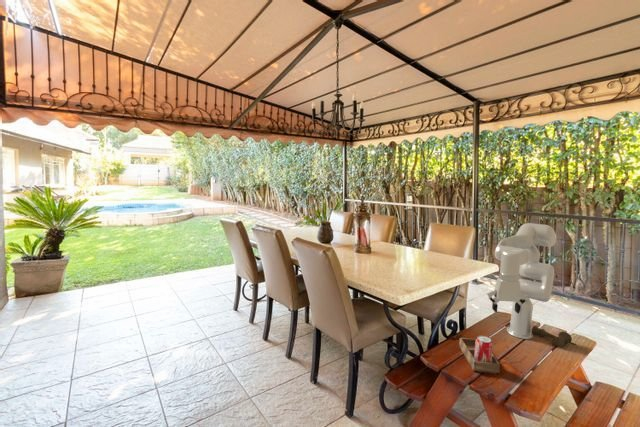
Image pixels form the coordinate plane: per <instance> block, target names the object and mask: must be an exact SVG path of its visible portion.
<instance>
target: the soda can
mask: <svg viewBox="0 0 640 427" xmlns="http://www.w3.org/2000/svg"><path fill="white" fill-rule="evenodd" d="M475 339H476V342H475V353H474V359H475V361H477V362H488V363H491V357H492V354H493V342H492V339H491V338H490V337H489V336H487V335H478V336H477V338H475Z"/></svg>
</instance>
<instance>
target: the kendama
mask: <svg viewBox="0 0 640 427" xmlns="http://www.w3.org/2000/svg"><path fill="white" fill-rule="evenodd" d="M531 333H532V334H533V335H538V336H540V337H541V338H543V337H546V338H549V339H550V338H551V339H552V344H553V345H554V346H555V347H557V348H560V349H563V348H565V346H566V344H570V345H573V346H577V344H576V343H574V342H573V339H572V336H571V334H569V333H568V332H566V331H560V332H558V336H556V335H554V334H552V333H549V332H548V331H547V330H545V329H544V328H540V327H538V326H537V325H533V326H532V329H531Z"/></svg>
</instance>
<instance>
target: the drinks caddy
mask: <svg viewBox="0 0 640 427" xmlns="http://www.w3.org/2000/svg"><path fill="white" fill-rule="evenodd" d="M476 339H477V338H467V337H459V338H458V341H459V342H458V346H459V348H460V350H461V352H462V354H463V355H464V357H465V359H466V361H467V362H468V364H469V366H470V367H471V369H472V371H473V372H474V371H478V372H477V373H487V374H496V373H499V374H500V373H501V364H500V362H499V360H497V358H496V356H495V355H494V354H493V353H492V357H491V363H488V362H477V361H475V359H474V353H475V342H476Z"/></svg>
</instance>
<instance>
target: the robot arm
mask: <svg viewBox="0 0 640 427" xmlns="http://www.w3.org/2000/svg"><path fill="white" fill-rule="evenodd" d="M556 243H557V234H556V232H555V230H554V228H553V227H552V226H550V225H548V224H541V223H533V222H527V223H523V224H522V225H521V226H520V227H519V228H518V230H517V232H516V233H515V235H511V236H509V237H504V238H502V239H501V240H500V241H499V242H498V243H497V245H496V247H495V250H494V257H495V259H496V260H498V261H500V266H499V268H500V271H499V277H497V278H496V282H495V285H494V290H493V291H491V292H490V291H489V292H488V293H486V295H487V297H488V299H489V300H490V302H491V308H492V310H493V312H494V313H498V305H499V304H498V303H499V302H510V303H511V302H512V304H511V305H512V307H511V317H510V321H509V324H510V326H507V327H506V332H507V333H508V334H509V335H511V336H513V337H515V338H517V339H522V340H531V339H533V338H534V334H532V331H531V330H532V329H531V327H532V319H533V310H534V305H533V303H532V301H531V300H535V301H539V302H543V303H547V302H549V301H550V300H551V296H552V290H553V284H554V278H555V267H554V266H553V265H551V264H549V263H544V262H540V258H541V252H540V250H539V249H538V248H537V246H541V247H548V248H552V247H553V246H555V244H556ZM523 277H524V278H529V279H532V280H528V279H524V278H523ZM533 280H534V281H533ZM535 280H537V281H535ZM539 281H540V282H539Z"/></svg>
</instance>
